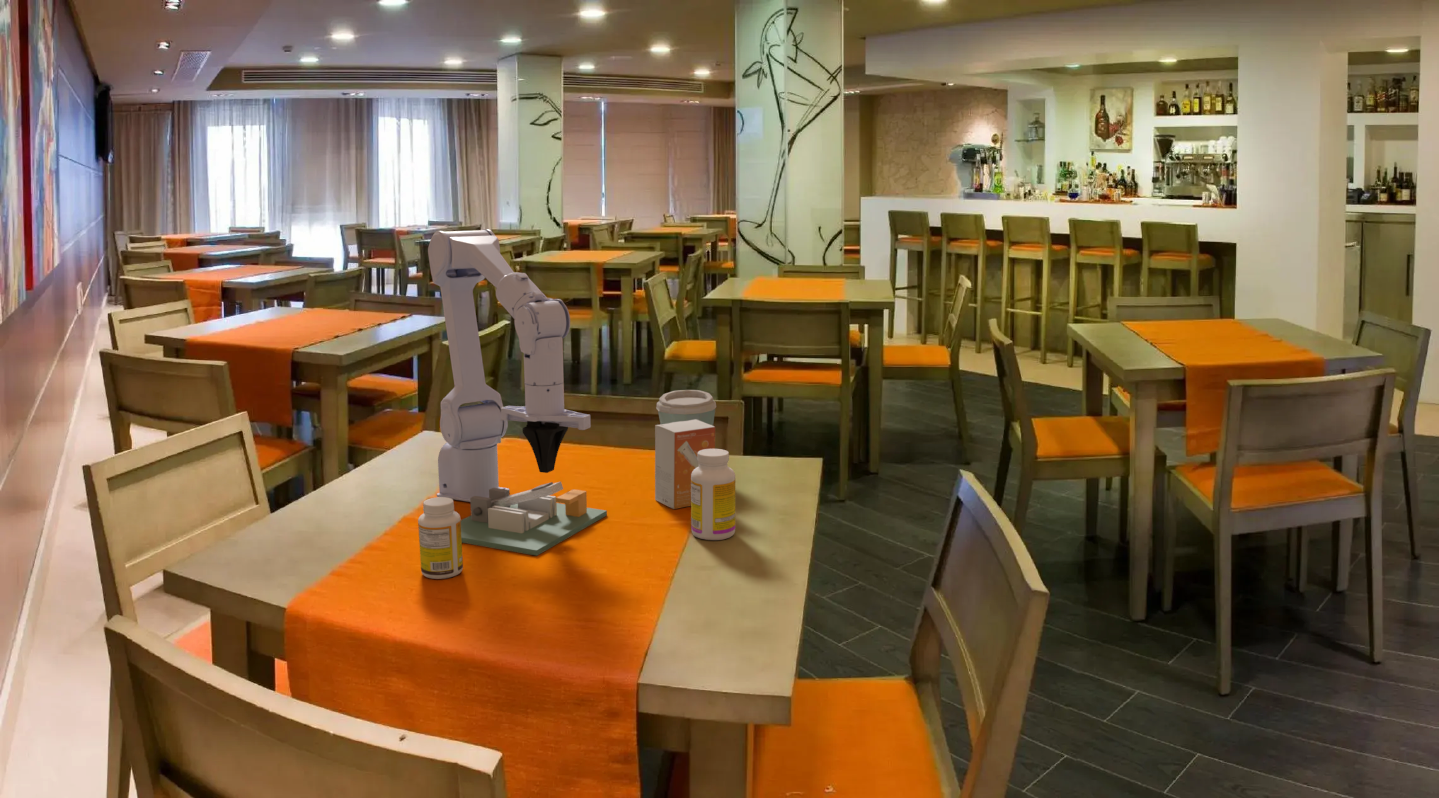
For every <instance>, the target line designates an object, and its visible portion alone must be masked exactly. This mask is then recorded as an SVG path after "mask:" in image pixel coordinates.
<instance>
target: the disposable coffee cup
mask: <svg viewBox="0 0 1439 798" xmlns="http://www.w3.org/2000/svg"><path fill="white" fill-rule="evenodd" d="M658 399H659V400H658V401H657V402H656V406H655V408H656V410H657V411H658V412H657V414H658V418H659V423H660V424H659V425H661V424H668V423H672V422H679V421H689V420H695V419H697V420H699V421H702V422H704V423H707V424H710V425H712V426H714V421H715V415H716V414H715V413H716V408H717V403H716V401H715V400H714V397H713V396H712V395H711V393H710V392H707V391H703V390H700V389H699V390H698V389H680V390H672V391H669V392H666V393H663V394H662V395H661V396H660V397H659V398H658Z"/></svg>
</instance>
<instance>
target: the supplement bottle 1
mask: <svg viewBox="0 0 1439 798" xmlns="http://www.w3.org/2000/svg"><path fill="white" fill-rule="evenodd" d="M422 504H423V505H422V506H423V508H422V511H423V513H422V514H420V516H419V517H418V519H417V523H418V537H419V538H418V542H419V543H418V544H419V555H420V556H419V557H420V569H421V574H422V576H424V577H426V578H429V579H433V580H434V579H435V580H443V579H444V580H445V579H449V578H452V577H456V576H457V575H459V574H460V573H461V572H462V571H463V570H464V569H463V568H464V563H463V543H462V540H461V520H462V519H461V515H460V513H458V512H457V511H455V504H454V499H451V498H447V497H437V496H436V497H431V498H428V499H426V500H424V501H423V503H422Z"/></svg>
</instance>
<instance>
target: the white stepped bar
mask: <svg viewBox="0 0 1439 798" xmlns="http://www.w3.org/2000/svg"><path fill="white" fill-rule="evenodd" d="M562 490H564V487H563V484H562V481H558V482H553V481H552V482H548V483H544V484H540V485H538V486H535V487H534V488H531V489H528V490H524V491H521V492H517V493H514V494H509V496H505V497H502V498H498V499H495V500H492V501H491V506H492V508H493V506H501V507H507V506H510V505H514V504H518V503H522V502H526V501H529V500H533V499H537V498H541V497H545V496H548V495H549V496H553V495H554V494H556V493H559V492H560V491H562Z"/></svg>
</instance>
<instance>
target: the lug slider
mask: <svg viewBox="0 0 1439 798" xmlns="http://www.w3.org/2000/svg"><path fill="white" fill-rule="evenodd" d="M587 500H588V499H587V491H586V490H581V489H574V488H573V489H570V491H567V492H565V493H563V494H561V495H559V496H556V503H560V504H565V510H566V515H570V516H576V517H580V516H581V515H583V514H585V513H587V508H588V506H587V504H588V503H587Z"/></svg>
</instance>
